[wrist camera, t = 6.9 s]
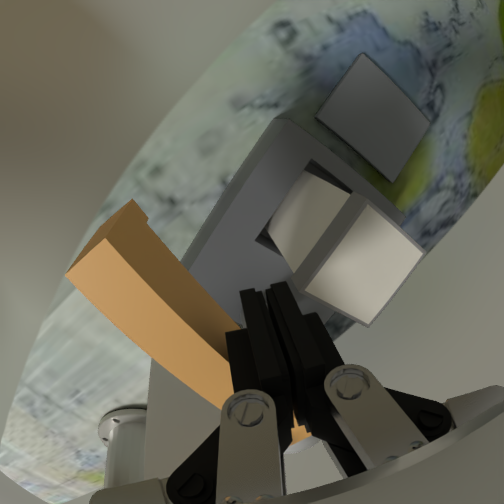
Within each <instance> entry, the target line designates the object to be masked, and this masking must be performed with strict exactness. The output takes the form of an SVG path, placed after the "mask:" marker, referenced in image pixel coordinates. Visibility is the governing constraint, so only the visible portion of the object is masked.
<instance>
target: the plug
mask: <svg viewBox="0 0 504 504" xmlns="http://www.w3.org/2000/svg"><path fill="white" fill-rule="evenodd" d="M264 227H265V228H266V230H267V231H268V233H269V235H270V236H271V238H272V239H273V241H274V242H275V244H276V246H277V247H278V249H279V250H280V252H281V254H282V255H283V257H284V258H285V260H286V262H287V263H288V265H289V266H290V268H291V270H292V271H293V273H294V274H293V275H292V277H291V279H292V281H293V283H294V285H295V286H296V288H297V290H298V291H299V292H300V293H302V294H304V295H306V296H308V297H309V298H311V299H313V300H315V301H317V302H319V303H321V304H323V305H325V306H327V307H329V308H331V309H332V310H334V311H336V312H338V313H340V314H342V315H344V316H346V317H348V318H350V319H352V320H354V321H356V322H358V323H360V324H362V325H364V326H365V327H367V328H368V327H369V326H370V325H371V324H372V323H373V321H375V319H376V318H377V317H378V316H379V315H380V313H381V312H382V311H383V310H384V308H385V307H386V306H387V305H388V304H389V302H390V301H391V300H392V298H393V297H394V296H395V295H396V293H397V292H398V291H399V290H400V288H401V287H402V286H403V284H404V283H405V282H406V280H407V279H408V278H409V276H410V275H411V274H412V272H413V271H414V270H415V268H416V267H417V265H418V264H419V263H420V261H421V260H422V258H423V257H424V256H425V254H426V253H427V252H426V251H425V250H424V249H423V248H422V247H421V246H420V245H419V244H417V243H416V242H415V241H414V240H413V239H412V238H411V237H410V236H409V235H408V234H407V233H406V232H405V231H404V230H403V229H401V228H400V227H399V226H398V225H397V224H396V223H395V222H394V221H393V220H392V219H390V218H389V217H388V216H387V215H386V214H385V213H384V212H382V211H381V210H380V209H379V208H378V207H377V206H376V205H374V204H373V203H372V202H371V201H370V200H369V199H367V198H366V197H364V196H362V195H360V194H358V193H356V192H354V191H353V192H352V193H351V195H350V194H349V193H347V192H345V191H343V190H341V189H339V188H338V187H336V186H334V185H332V184H330V183H328V182H326V181H324V180H323V179H321V178H319V177H317V176H315V175H313V174H311V173H309V172H307V171H305V170H303V171H302V173H301V174H300V176H299V177H298V179H297V180H296V181H295V183H294V184H293V186H292V187H291V189H290V190H289V192H288V193H287V194H286V196H285V197H284V199H283V200H282V202H281V203H280V205H279V206H278V207H277V209H276V210H275V212H274V213H273V215H272V216H271V218H270V219H269V220H268V222H267V223H266V225H265V226H264Z"/></svg>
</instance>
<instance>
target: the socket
mask: <svg viewBox="0 0 504 504" xmlns="http://www.w3.org/2000/svg"><path fill="white" fill-rule="evenodd" d="M303 170H305V171H307V172H309V173H311V174H313V175H315V176H317V177H319V178H321V179H323V180H324V181H326V182H328V183H330V184H332V185H334V186H336V187H338V188H339V189H341V190H343V191H345V192H347V193H349V194H350V195H351V193H352V192H353V191H354V192H356V193H358V194H360V195H362V196H364V197H366V198H367V199H369V200H370V201H371V202H372V203H373V204H374V205H376V206H377V207H378V208H379V209H380V210H381V211H382V212H384V213H385V214H386V215H387V216H388V217H389V218H390V219H392V220H393V221H394V222H395V223H396V224H397V225H398V226H399V227H400V225H401V224H402V222H403V221H404V219H405V218H406V216H405V215H404V214H403V213H402V212H401V211H400V210H399V209H398V208H396V207H395V206H394V205H393V204H392V203H391V202H390V201H389V200H388V199H387V198H386V197H385V196H383V195H382V194H381V193H380V192H379V191H378V190H377V189H376V188H375V187H373V186H372V185H371V184H370V183H369V182H368V181H367V180H365V179H364V178H363V177H362V176H361V175H360V174H359V173H357V172H356V171H355V170H354V169H353V168H351V167H350V166H349V165H348V164H347V163H345V162H344V161H343V160H342V159H341V158H339V157H338V156H337V155H336V154H334V153H333V152H332V151H331V150H329V149H328V148H327V147H326V146H324V145H323V144H322V143H320V142H319V141H318V140H317V139H315V138H314V137H313V136H311V135H310V134H309V133H307V132H306V131H305V130H303V129H302V128H301V127H299V126H298V125H297V124H295V123H294V122H292V121H291V120H290V119H273V120H272V121H271V123H270V124H269V126H268V127H267V128H266V130H265V131H264V133H263V134H262V136H261V137H260V139H259V140H258V141H257V143H256V144H255V146H254V147H253V149H252V150H251V152H250V153H249V155H248V156H247V158H246V159H245V161H244V162H243V164H242V165H241V167H240V168H239V170H238V171H237V173H236V174H235V176H234V177H233V179H232V180H231V182H230V183H229V185H228V186H227V188H226V189H225V191H224V192H223V194H222V196H221V197H220V199H219V200H218V202H217V203H216V205H215V206H214V208H213V210H212V211H211V213H210V214H209V216H208V218H207V219H206V221H205V222H204V224H203V226H202V227H201V229H200V230H199V232H198V234H197V235H196V237H195V238H194V240H193V242H192V243H191V245H190V247H189V248H188V250H187V251H186V253H185V255H184V256H183V258H182V260H181V261H180V263H181V264H182V265H183V266H184V267H185V268H186V269H187V271H188V272H189V273H190V274H191V275H192V276H193V277H194V278H195V279H196V281H197V282H198V283H199V284H200V285H201V286H202V287H203V288H204V289H205V291H206V292H207V293H208V294H209V295H210V296H211V297H212V298H213V299H214V300H215V301H216V302H217V304H218V305H219V306H220V307H221V308H222V309H223V310H224V311H225V312H226V313H227V314H228V315H229V316H230V317H231V319H232V320H233V321H234V322H236V323H238V324H240V325H242V322H241V318H240V313H241V310H242V309H243V308H242V303H241V298H240V294H239V291H241V290H245V289H250V288H255V291H262V293H263V296H264V299H265V302H266V303H267V300H266V293H265V289H270V284H273V283H278V282H282V281H286V282H287V284H288V286H289V288H290V290H291V292H292V294H293V296H294V298H295V300H296V302H297V304H298V306H299V309H300V311H301V313H302V315H305V314H309V313H313V312H316V313H317V314H318V315H319V317H320V319H321V321H322V322H323V324H324V325H325V323H326V322H327V321H328V320H329V319H330V317H331V316H332V315H333V314H334V313H335V311H334V310H332V309H331V308H329V307H327V306H325V305H323V304H321V303H319V302H317V301H315V300H313V299H311V298H309V297H308V296H306V295H304V294H302V293H300V292H299V291H298V290H297V288H296V286H295V285H294V283H293V281H292V279H291V277H292V275H293V274H294V273H293V271H292V270H291V268H290V266H289V265H288V263H287V262H286V260H285V258H284V257H283V255H282V254H281V252H280V250H279V249H278V247H277V246H276V244H275V242H274V241H273V239H272V238H271V236H270V235H269V233H268V231H267V230H266V228H265V227H264V226H265V225H266V223H267V222H268V220H269V219H270V218H271V216H272V215H273V213H274V212H275V210H276V209H277V207H278V206H279V205H280V203H281V202H282V200H283V199H284V197H285V196H286V194H287V193H288V192H289V190H290V189H291V187H292V186H293V184H294V183H295V181H296V180H297V179H298V177H299V176H300V174H301V173H302V171H303Z"/></svg>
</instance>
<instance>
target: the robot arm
mask: <svg viewBox="0 0 504 504" xmlns="http://www.w3.org/2000/svg"><path fill="white" fill-rule="evenodd" d="M265 293H266V300H267V305H266V302H265V299H264V296H263V293H262V291H255V288H250V289H245V290H241V291H239V294H240V298H241V303H242V308H243V313H244V318H245V322H246V327H247V328H243V329H238V330H234V331H229V332H225V337H226V344H227V351H228V358H229V365H230V371H231V378H232V384H233V391H234V394H233V395H231V396H230V397H229V398H228V399H227V400H226V401H225V403H224V404H223V406H222V410H221V420H220V425H219V426H218V427H217V428H216V429H215V430H214V431H213V432H212V433H211V434H210V435H209V436H208V438H207V439H206V440H205V441H204V442H203V443H202V444H201V445H200V446H199V447H198V448H197V449H196V450H195V451H194V452H193V453H192V454H191V455H190V456H189V457H188V458H187V459H186V460H185V461H184V462H183V463H182V464H181V465H180V466H179V467H178V468H177V469H176V470H175V471H174V472H173V473H172V474H171V475H170V477H167V478H163V479H159V478H158V477H157V478H153V479H149V480H145V481H144V460H145V435H146V417H147V410H144V409H123V410H118V411H114V412H111V413H109V414H107V415H106V416H104V417H103V418H102V419H101V421H100V423H99V427H98V434H99V438H100V439H101V441H102V442H103V443H104V444H105V445H106V446H107V447H108V450H107V458H106V468H105V478H104V489H102V490H99V491H97V492H96V493H95V494H94V495H92V497H91V499H90V501H89V504H504V387H502V386H498V385H495V386H489V387H486V388H483V389H480V390H477V391H474V392H471V393H467V394H464V395H461V396H457V397H454V398H450V399H447V400H446V402H445V403H439V402H437V401H433V400H429V399H425V398H421V397H417V396H414V395H410V394H406V393H403V392H399V391H395V390H392V389H388V388H385V387H383V386H382V385H381V383H380V382H379V381H378V380H377V379H376V377H375V376H374V375H373V374H372V373H371V372H370V371H369V370H368V369H366V368H364V367H362V366H360V365H354V364H347V365H345V364H344V362H343V360H342V358H341V356H340V354H339V352H338V351H337V349H336V347H335V345H334V343H333V341H332V339H331V337H330V336H329V334H328V332H327V330H326V328H325V326H324V324H323V322H322V321H321V319H320V317H319V315H318V314H317V313H316V312H313V313H309V314H305V315H302V313H301V311H300V309H299V306H298V304H297V302H296V300H295V298H294V296H293V294H292V292H291V290H290V288H289V286H288V284H287V282H286V281H282V282H278V283H273V284H270V289H265ZM267 307H268V308H267ZM293 411H294V414H295V417H296V421H297V424H298V426H303V425H304V426H305V429H306V432H307V433H309V432H311V435H312V436H313V437H316V438H318V439H321V440H322V442H323V445H324V447H325V448H326V450H327V452H328V453H329V455H330V457H331V459H332V460H333V462H334V463H335V465H336V467H337V469H338V470H339V472H340V474H341V475H342V477H343V480H339V481H336V482H333V483H330V484H327V485H323V486H320V487H316V488H313V489H309V490H305V491H301V492H297V493H293V494H289V495H287V489H286V476H285V463H284V452H285V451H286V449H287V448H288V447H289V445H290V444H291V443H292V441H293V439H292V430H291V428H295V426H294V416H293Z"/></svg>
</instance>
